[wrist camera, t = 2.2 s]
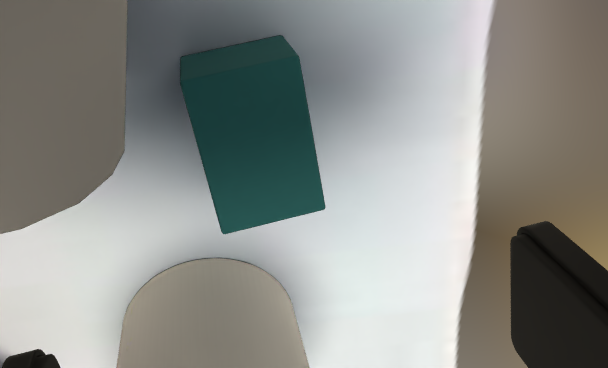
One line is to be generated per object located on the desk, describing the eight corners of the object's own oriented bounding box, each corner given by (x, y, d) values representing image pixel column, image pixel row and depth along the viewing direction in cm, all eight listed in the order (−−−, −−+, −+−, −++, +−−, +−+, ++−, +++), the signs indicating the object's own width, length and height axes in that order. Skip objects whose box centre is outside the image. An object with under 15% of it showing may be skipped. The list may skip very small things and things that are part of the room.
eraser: (179, 56, 21) (179, 81, 18) (282, 34, 22) (299, 54, 19) (217, 193, 24) (222, 235, 21) (308, 171, 25) (326, 210, 21)
